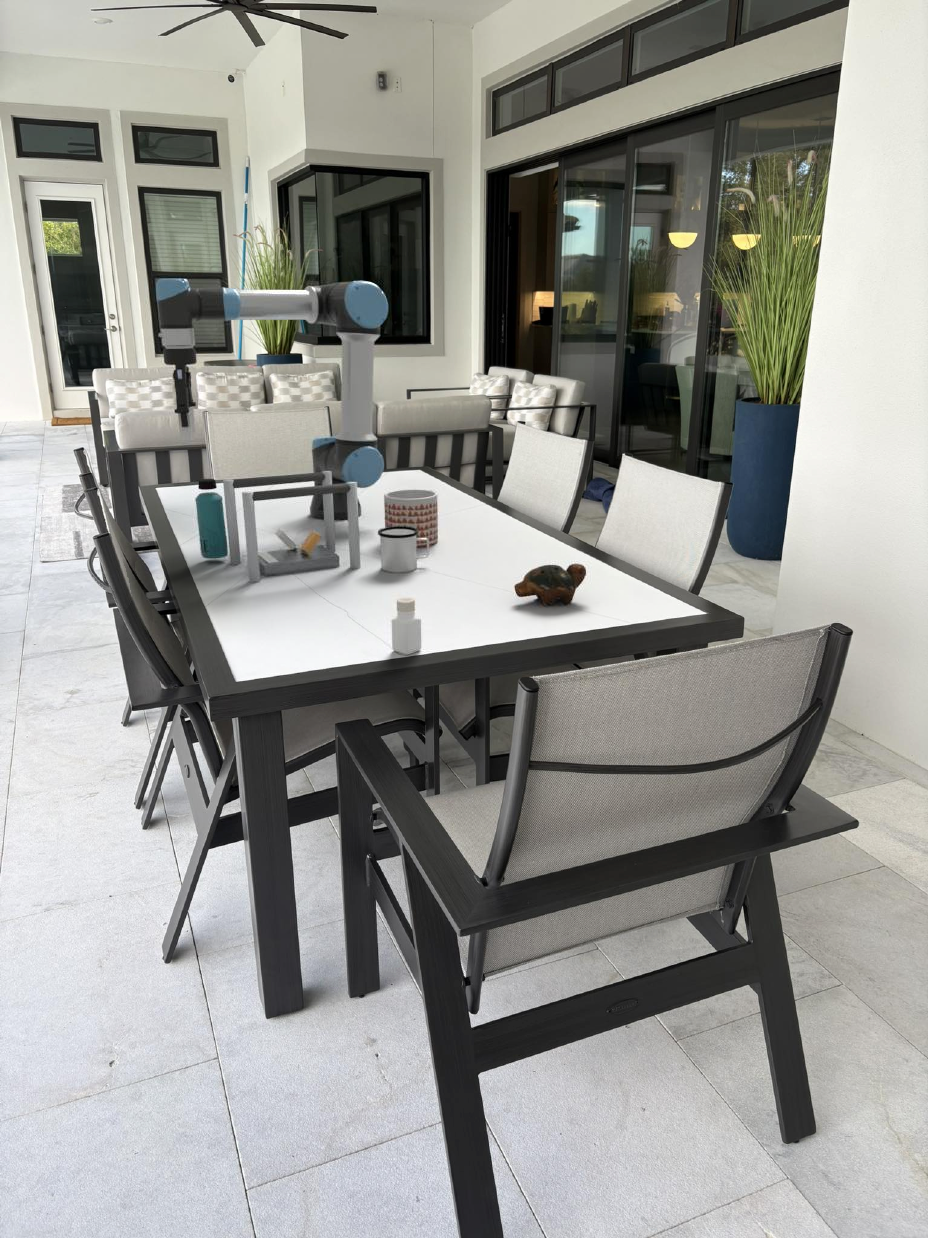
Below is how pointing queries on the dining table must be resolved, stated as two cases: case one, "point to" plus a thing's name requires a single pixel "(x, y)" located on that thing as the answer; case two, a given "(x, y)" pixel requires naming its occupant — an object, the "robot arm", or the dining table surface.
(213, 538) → the beverage bottle
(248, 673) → the dining table surface
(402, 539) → the mug
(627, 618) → the dining table surface
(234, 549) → the cord rack
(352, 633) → the dining table surface
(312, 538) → the amber brick
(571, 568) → the decorative turtle
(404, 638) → the small white bottle
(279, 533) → the off-white eraser brick
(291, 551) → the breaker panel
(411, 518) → the planter
